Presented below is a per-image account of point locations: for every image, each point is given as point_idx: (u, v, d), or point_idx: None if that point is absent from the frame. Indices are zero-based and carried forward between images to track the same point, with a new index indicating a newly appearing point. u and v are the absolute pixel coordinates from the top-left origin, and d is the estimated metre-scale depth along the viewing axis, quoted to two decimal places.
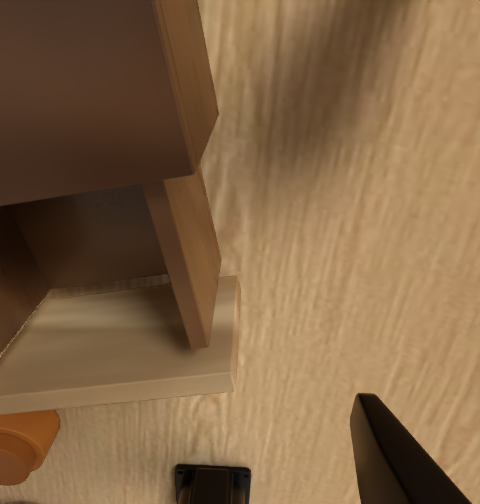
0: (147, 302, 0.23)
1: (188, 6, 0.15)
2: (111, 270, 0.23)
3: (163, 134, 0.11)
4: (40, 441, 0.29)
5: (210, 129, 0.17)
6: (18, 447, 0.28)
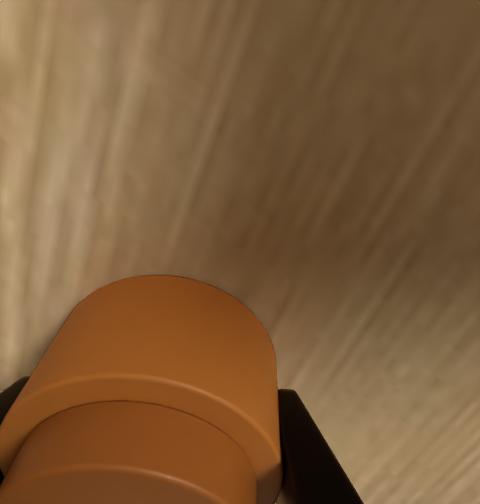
0: None
1: None
2: None
3: None
4: None
5: None
6: (239, 478, 0.07)
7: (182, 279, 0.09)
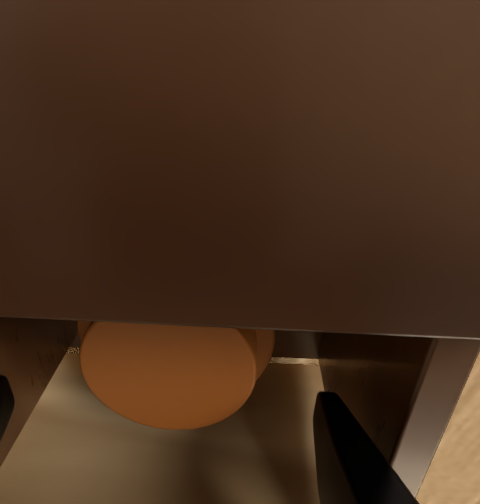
0: None
1: None
2: None
3: None
4: None
5: None
6: None
7: None
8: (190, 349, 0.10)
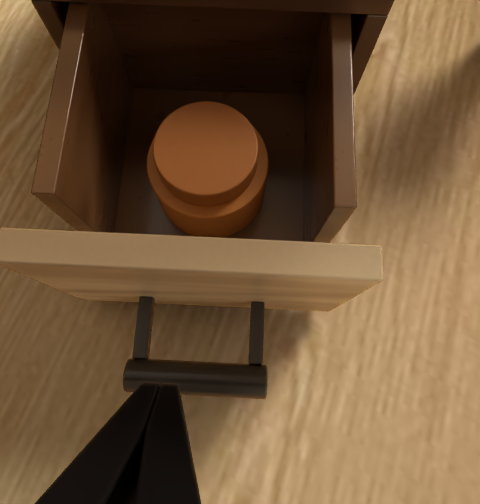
0: None
1: None
2: (195, 236, 0.20)
3: None
4: None
5: None
6: None
7: None
8: (220, 130, 0.17)
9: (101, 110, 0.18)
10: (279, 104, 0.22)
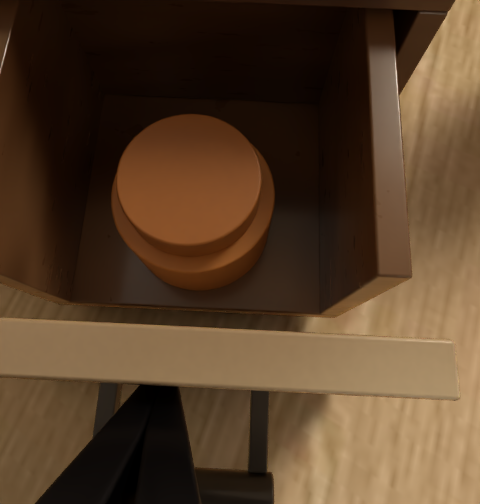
0: None
1: None
2: None
3: None
4: None
5: None
6: None
7: None
8: (210, 153, 0.12)
9: (49, 124, 0.13)
10: (287, 116, 0.17)
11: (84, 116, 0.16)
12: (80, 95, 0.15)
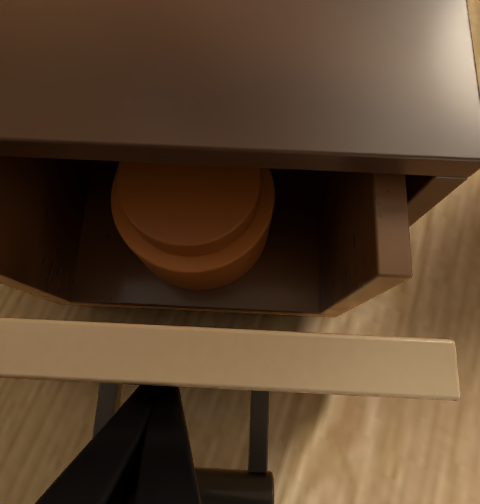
0: None
1: None
2: (178, 287, 0.15)
3: (454, 105, 0.09)
4: None
5: None
6: None
7: None
8: None
9: None
10: None
11: None
12: None
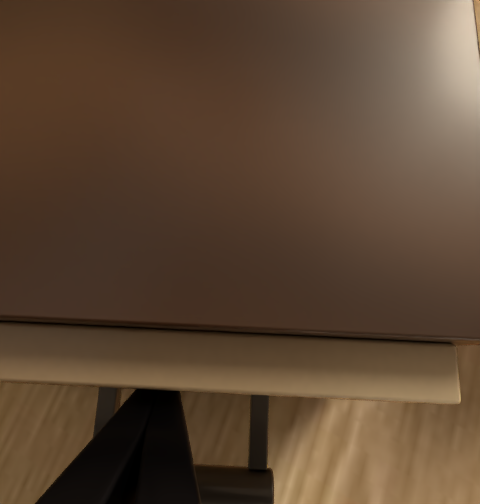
0: None
1: None
2: None
3: (476, 270, 0.08)
4: None
5: None
6: None
7: None
8: None
9: None
10: None
11: None
12: None
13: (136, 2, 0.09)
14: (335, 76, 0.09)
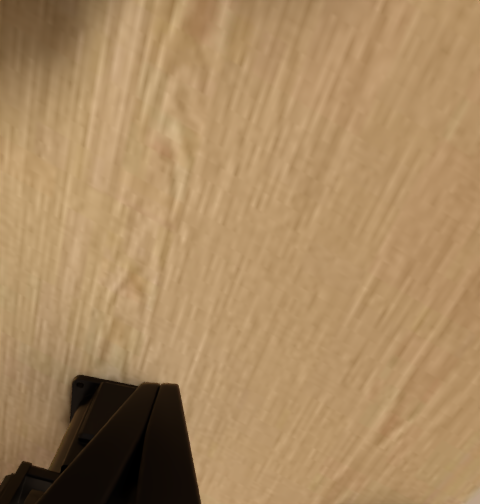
0: None
1: None
2: None
3: None
4: None
5: None
6: None
7: None
8: None
9: None
10: None
11: None
12: None
13: None
14: None
